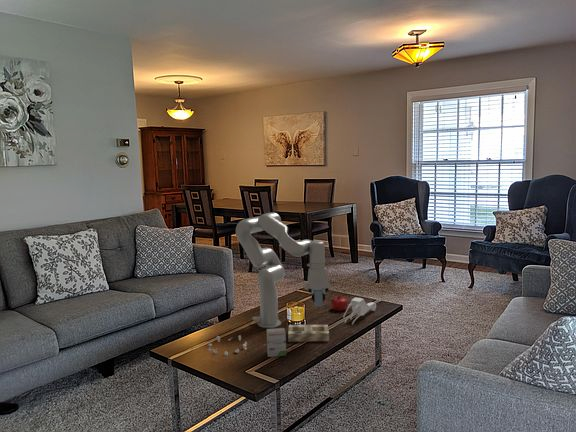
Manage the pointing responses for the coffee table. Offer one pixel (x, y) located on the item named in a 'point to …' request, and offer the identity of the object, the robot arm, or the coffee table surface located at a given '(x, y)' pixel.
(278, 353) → the ink box
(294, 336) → the socket block
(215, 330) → the coffee table surface
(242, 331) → the coffee table surface
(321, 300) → the grey rectangular block
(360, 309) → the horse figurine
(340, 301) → the pomegranate
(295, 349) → the coffee table surface
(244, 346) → the game piece set
